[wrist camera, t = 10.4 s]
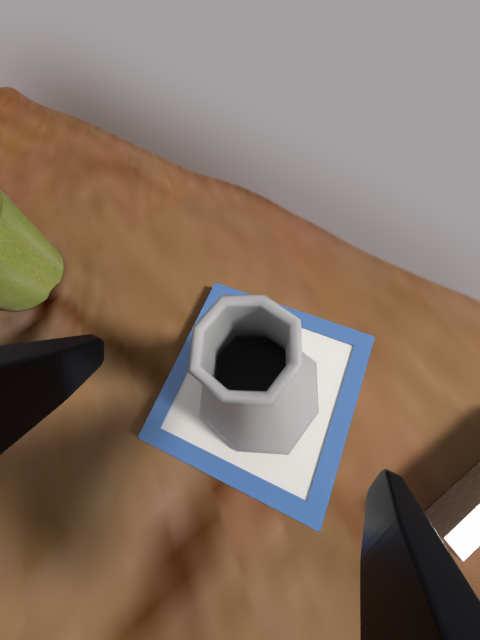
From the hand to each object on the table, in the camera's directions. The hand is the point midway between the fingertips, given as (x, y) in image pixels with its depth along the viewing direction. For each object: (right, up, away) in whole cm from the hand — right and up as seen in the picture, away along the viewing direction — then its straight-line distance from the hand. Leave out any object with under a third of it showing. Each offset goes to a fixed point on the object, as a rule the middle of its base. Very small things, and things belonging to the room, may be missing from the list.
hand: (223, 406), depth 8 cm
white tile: (+2, -2, +9) cm, 10 cm away
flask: (+2, -2, +9) cm, 9 cm away
